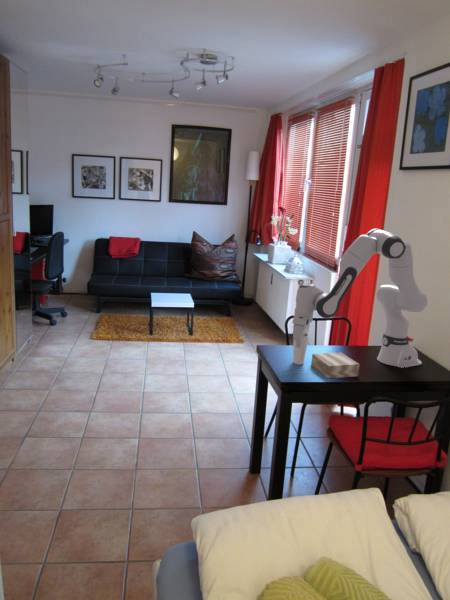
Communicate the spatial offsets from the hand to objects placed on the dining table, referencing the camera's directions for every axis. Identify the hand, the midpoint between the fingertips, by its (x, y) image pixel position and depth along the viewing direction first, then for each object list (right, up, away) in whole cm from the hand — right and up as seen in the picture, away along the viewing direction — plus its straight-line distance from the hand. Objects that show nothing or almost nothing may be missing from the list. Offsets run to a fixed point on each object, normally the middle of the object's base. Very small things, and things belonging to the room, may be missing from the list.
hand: (300, 344), depth 247 cm
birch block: (+15, -12, -4) cm, 20 cm away
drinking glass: (-1, -10, +2) cm, 10 cm away
